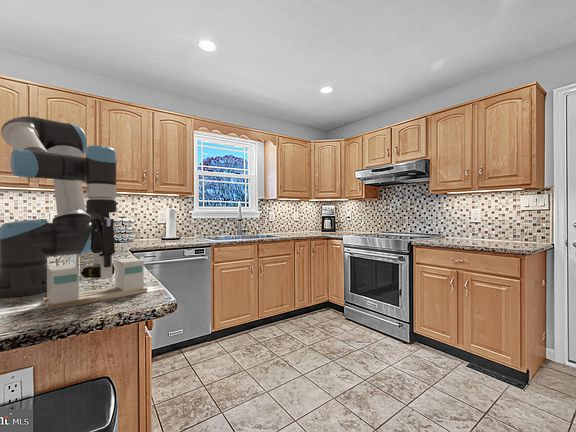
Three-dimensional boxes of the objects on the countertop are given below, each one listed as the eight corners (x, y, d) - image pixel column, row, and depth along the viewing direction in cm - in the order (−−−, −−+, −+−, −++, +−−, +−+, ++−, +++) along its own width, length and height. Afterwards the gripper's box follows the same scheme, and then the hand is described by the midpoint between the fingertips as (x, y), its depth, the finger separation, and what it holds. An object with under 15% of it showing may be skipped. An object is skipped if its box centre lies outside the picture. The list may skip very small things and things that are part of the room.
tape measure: (100, 274, 90) (100, 262, 90) (120, 275, 88) (119, 263, 88) (81, 280, 83) (80, 266, 83) (101, 280, 82) (101, 267, 82)
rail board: (43, 302, 84) (43, 296, 84) (135, 286, 102) (135, 282, 102) (48, 310, 77) (48, 304, 77) (147, 291, 95) (147, 287, 95)
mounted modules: (47, 298, 84) (46, 266, 83) (134, 283, 101) (134, 257, 101) (51, 304, 78) (51, 270, 78) (143, 288, 95) (143, 260, 95)
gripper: (78, 200, 91) (78, 273, 91) (96, 197, 76) (97, 284, 77) (105, 200, 96) (106, 269, 96) (127, 198, 82) (128, 279, 82)
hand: (102, 276), depth 86 cm, fingers closed on tape measure, 8 cm apart
